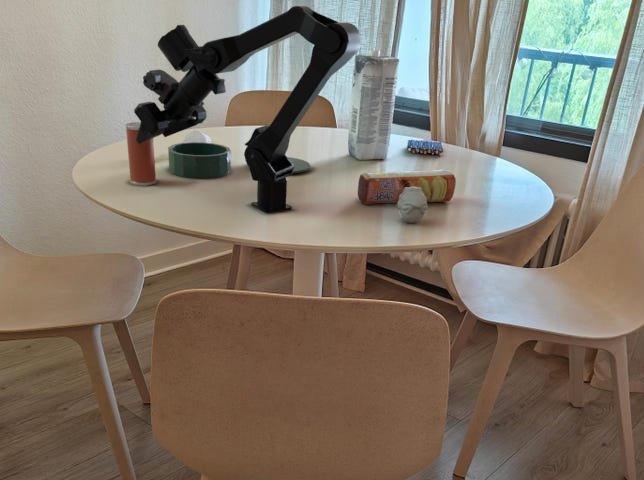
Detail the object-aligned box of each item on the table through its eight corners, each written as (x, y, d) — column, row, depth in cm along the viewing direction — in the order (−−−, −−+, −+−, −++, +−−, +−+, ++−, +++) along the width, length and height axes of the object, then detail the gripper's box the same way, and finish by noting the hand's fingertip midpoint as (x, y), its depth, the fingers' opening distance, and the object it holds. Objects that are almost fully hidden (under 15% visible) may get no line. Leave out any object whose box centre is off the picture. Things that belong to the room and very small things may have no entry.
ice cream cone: (178, 160, 165) (203, 158, 178) (196, 147, 162) (220, 146, 176) (165, 139, 164) (191, 139, 178) (183, 125, 162) (208, 126, 175)
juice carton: (391, 159, 179) (404, 53, 166) (357, 161, 176) (367, 52, 162) (376, 152, 186) (387, 49, 173) (343, 153, 183) (352, 48, 169)
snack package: (364, 207, 139) (368, 175, 136) (354, 198, 145) (357, 167, 141) (453, 204, 144) (459, 174, 141) (441, 196, 150) (445, 166, 147)
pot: (241, 174, 157) (241, 153, 154) (185, 181, 149) (184, 158, 147) (212, 161, 167) (212, 140, 164) (159, 166, 159) (158, 144, 157)
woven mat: (443, 155, 186) (444, 148, 185) (406, 152, 188) (407, 145, 187) (442, 148, 195) (443, 141, 194) (407, 145, 197) (407, 138, 196)
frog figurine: (419, 216, 135) (424, 183, 132) (429, 227, 129) (435, 192, 126) (391, 216, 134) (395, 182, 131) (400, 227, 128) (405, 192, 125)
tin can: (160, 184, 146) (156, 126, 140) (136, 186, 143) (131, 128, 137) (150, 177, 150) (146, 121, 144) (126, 180, 147) (121, 123, 141)
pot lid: (322, 172, 163) (324, 147, 160) (269, 178, 155) (270, 152, 152) (288, 158, 174) (289, 134, 171) (237, 163, 166) (237, 139, 163)
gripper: (193, 54, 138) (154, 102, 147) (138, 59, 123) (98, 113, 132) (225, 97, 139) (184, 143, 148) (174, 108, 124) (132, 158, 133)
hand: (151, 138), depth 141 cm, fingers open, 9 cm apart
